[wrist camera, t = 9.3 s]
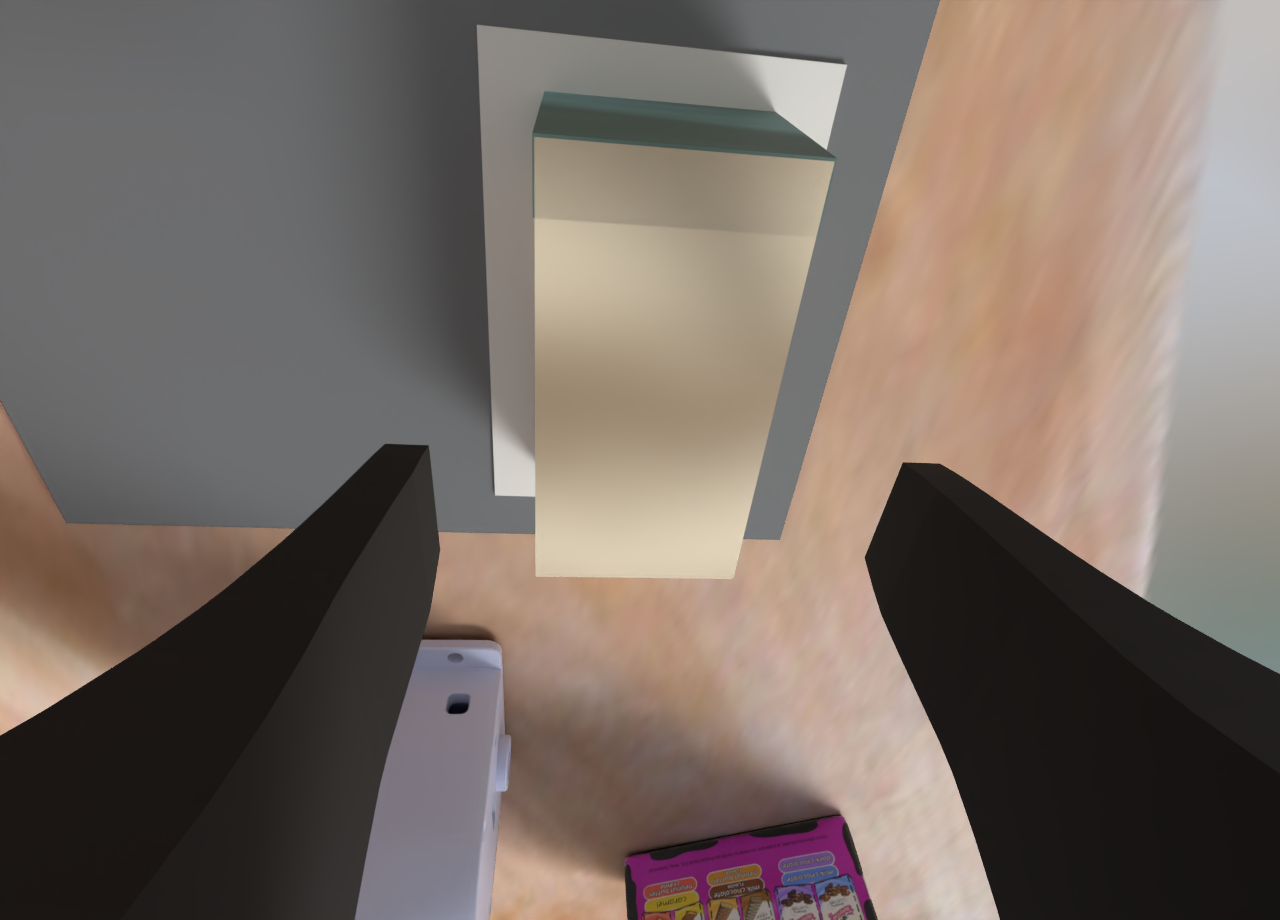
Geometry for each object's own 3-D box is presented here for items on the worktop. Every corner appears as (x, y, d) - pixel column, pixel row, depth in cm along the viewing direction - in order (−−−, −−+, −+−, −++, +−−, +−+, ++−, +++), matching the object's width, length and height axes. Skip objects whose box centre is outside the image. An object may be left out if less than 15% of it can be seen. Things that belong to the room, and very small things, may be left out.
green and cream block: (708, 473, 19) (734, 579, 15) (542, 468, 18) (534, 576, 15) (775, 111, 13) (837, 158, 10) (544, 91, 13) (531, 132, 10)
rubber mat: (936, -22, 13) (948, -22, 12) (776, 530, 21) (780, 542, 20) (-284, -175, 10) (-319, -181, 10) (75, 513, 19) (64, 525, 18)
